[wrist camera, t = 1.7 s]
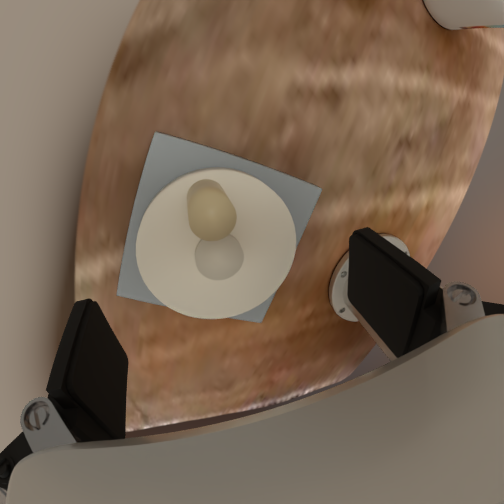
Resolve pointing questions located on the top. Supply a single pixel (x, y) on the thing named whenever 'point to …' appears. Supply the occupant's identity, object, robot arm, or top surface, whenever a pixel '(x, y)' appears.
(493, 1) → the milk bottle
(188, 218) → the dial
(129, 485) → the robot arm
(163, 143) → the base board
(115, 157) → the top surface
